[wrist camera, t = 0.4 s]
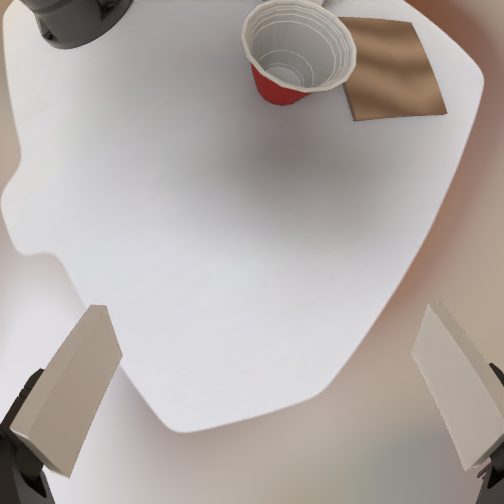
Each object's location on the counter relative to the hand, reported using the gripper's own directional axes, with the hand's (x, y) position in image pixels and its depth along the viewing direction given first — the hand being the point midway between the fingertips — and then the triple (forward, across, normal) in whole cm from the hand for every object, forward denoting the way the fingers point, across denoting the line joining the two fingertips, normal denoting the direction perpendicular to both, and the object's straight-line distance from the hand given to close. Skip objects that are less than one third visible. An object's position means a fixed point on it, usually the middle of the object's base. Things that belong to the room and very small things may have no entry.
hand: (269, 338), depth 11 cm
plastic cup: (+30, +2, +12) cm, 32 cm away
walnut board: (+32, +18, +18) cm, 41 cm away
